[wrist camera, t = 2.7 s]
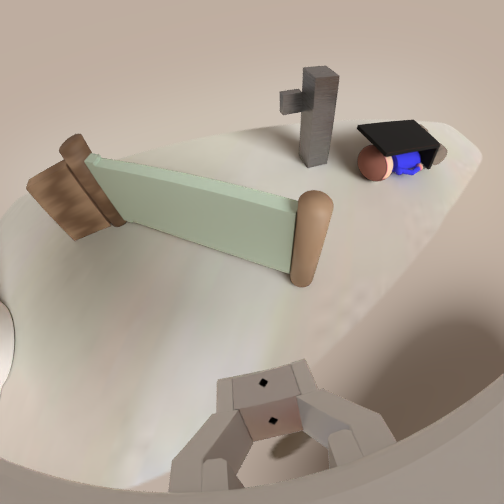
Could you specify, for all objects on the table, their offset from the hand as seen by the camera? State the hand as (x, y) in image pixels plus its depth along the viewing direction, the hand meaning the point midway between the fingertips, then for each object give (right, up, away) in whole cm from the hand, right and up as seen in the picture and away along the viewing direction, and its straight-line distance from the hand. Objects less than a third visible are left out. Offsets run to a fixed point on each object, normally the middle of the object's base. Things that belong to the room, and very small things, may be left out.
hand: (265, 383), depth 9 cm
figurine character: (+21, +17, +28) cm, 39 cm away
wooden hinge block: (-21, +8, +26) cm, 35 cm away
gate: (-6, +5, +23) cm, 24 cm away
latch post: (+7, +18, +29) cm, 35 cm away
